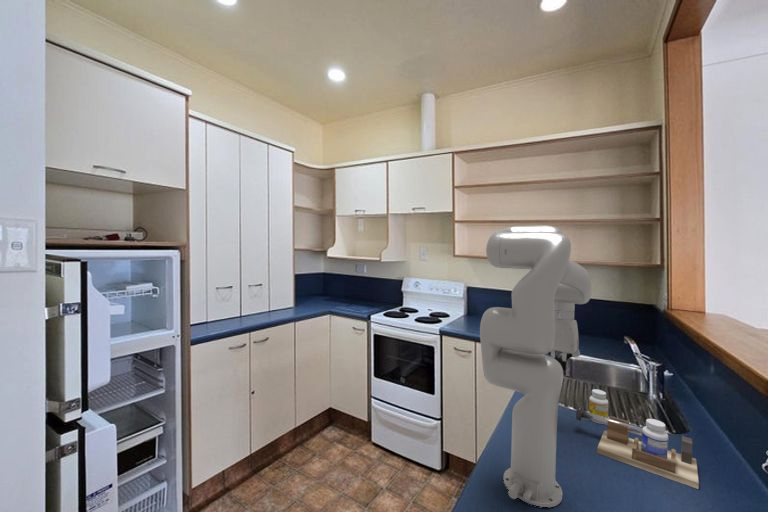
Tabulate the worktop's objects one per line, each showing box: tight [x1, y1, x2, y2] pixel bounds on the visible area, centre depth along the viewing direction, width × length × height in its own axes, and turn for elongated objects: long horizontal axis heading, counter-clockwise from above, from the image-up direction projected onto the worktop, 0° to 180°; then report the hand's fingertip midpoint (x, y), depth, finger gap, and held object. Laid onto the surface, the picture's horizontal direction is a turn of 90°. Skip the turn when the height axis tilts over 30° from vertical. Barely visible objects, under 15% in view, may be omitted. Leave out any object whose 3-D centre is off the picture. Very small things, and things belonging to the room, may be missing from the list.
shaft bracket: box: [596, 415, 700, 490], centre depth 90 cm, size 12×20×7 cm, turn 49°
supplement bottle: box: [588, 388, 609, 425], centre depth 111 cm, size 5×5×10 cm
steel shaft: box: [575, 405, 643, 437], centre depth 99 cm, size 4×17×4 cm, turn 49°
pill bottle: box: [641, 418, 669, 459], centre depth 88 cm, size 5×5×10 cm
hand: (559, 371), depth 108 cm, fingers closed
